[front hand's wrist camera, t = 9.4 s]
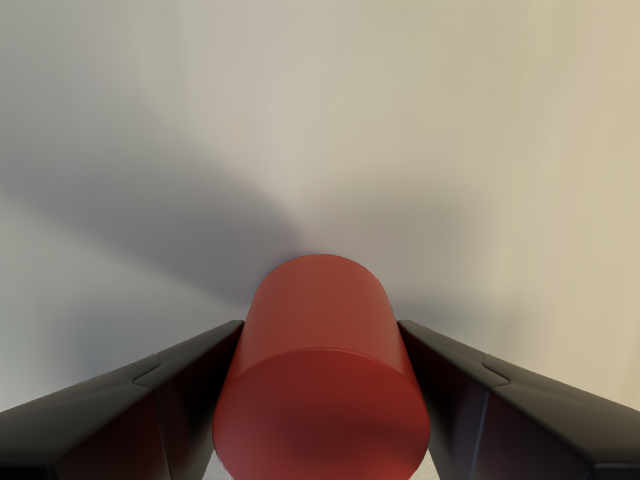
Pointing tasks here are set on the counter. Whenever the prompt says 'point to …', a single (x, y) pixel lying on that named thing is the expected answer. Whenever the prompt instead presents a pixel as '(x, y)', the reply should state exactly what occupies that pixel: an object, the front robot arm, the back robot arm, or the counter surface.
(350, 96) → the counter surface
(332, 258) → the canister
